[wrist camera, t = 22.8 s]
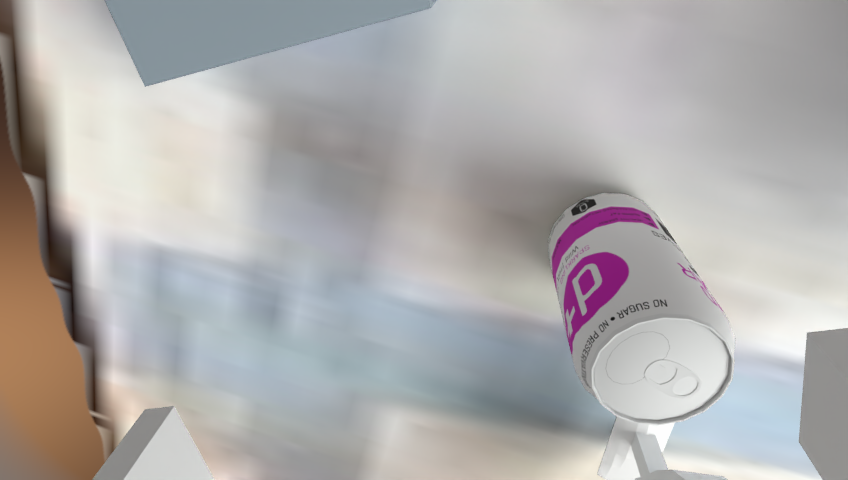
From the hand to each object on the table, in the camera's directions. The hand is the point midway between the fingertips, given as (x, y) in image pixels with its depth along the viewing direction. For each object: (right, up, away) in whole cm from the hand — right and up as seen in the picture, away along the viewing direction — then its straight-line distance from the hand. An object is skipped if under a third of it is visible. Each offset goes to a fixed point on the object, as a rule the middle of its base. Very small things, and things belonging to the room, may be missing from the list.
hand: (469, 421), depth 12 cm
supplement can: (+12, +4, +30) cm, 33 cm away
